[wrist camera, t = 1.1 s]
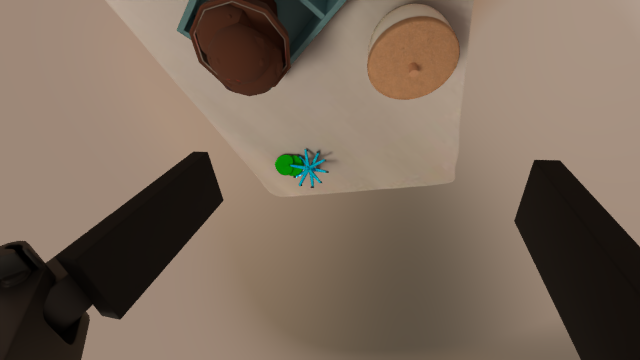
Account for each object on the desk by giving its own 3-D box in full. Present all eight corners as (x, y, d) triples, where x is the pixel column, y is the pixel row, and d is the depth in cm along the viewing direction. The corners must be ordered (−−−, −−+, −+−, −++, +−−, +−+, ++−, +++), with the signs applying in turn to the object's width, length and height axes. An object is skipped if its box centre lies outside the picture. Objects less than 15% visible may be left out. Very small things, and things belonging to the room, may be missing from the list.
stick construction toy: (328, 152, 58) (322, 190, 58) (337, 154, 64) (332, 189, 65) (275, 144, 62) (270, 180, 62) (289, 147, 68) (284, 180, 69)
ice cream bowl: (194, -24, 35) (146, 46, 26) (280, -54, 32) (257, 14, 23) (238, 55, 43) (212, 128, 35) (310, 37, 40) (300, 111, 32)
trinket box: (441, -29, 34) (459, 10, 28) (450, 50, 42) (466, 92, 36) (354, 11, 38) (355, 52, 33) (377, 76, 46) (382, 117, 40)
